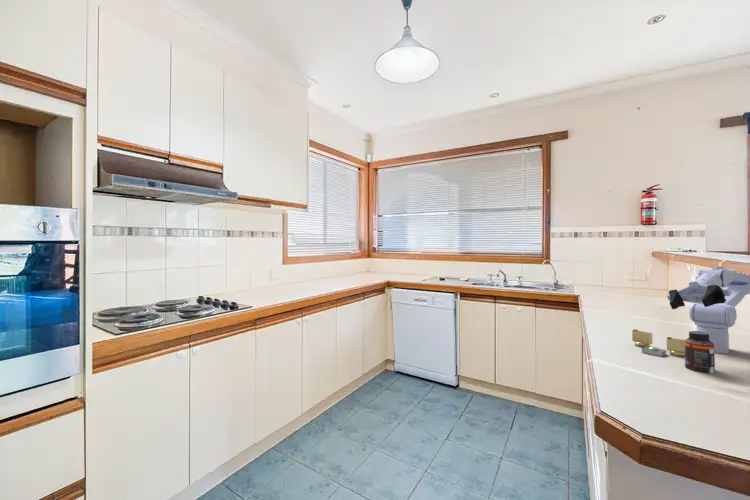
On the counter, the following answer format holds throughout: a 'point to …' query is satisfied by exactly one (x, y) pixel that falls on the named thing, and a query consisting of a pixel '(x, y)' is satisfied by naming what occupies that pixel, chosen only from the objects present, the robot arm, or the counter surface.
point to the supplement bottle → (699, 352)
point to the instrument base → (654, 351)
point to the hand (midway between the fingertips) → (687, 304)
